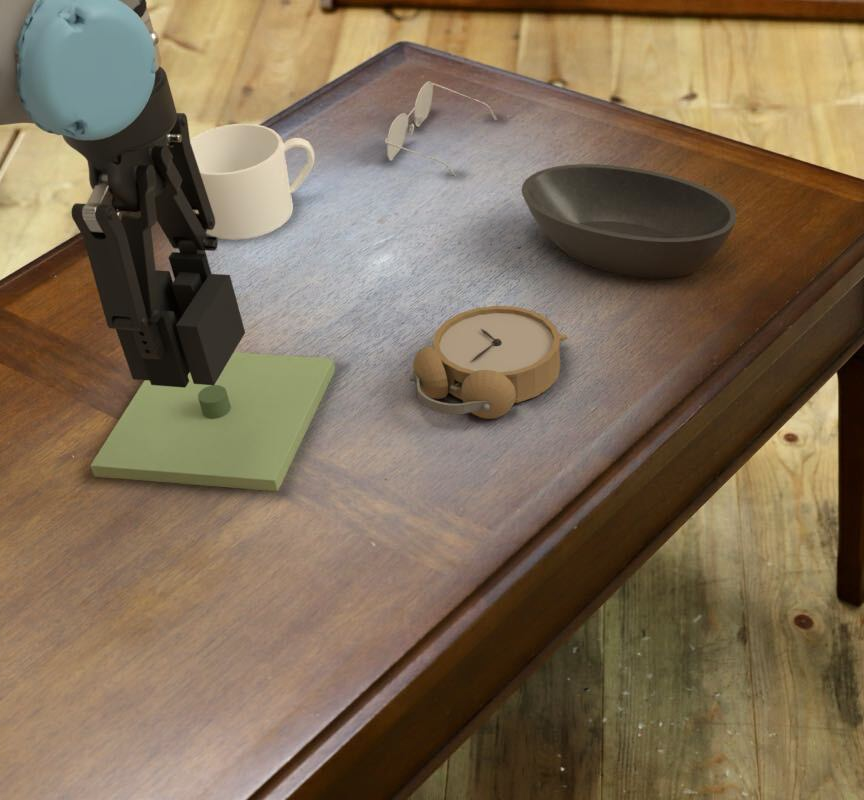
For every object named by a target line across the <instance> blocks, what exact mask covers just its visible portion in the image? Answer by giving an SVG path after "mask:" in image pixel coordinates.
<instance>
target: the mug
mask: <svg viewBox="0 0 864 800" xmlns="http://www.w3.org/2000/svg"><path fill="white" fill-rule="evenodd" d="M190 143H191V146H192V149H193V152H194V155H195V159H196V162H197V165H198V168H199V171H200V174H201V177H202V180H203V183H204V186H205V189H206V193H207V196H208V199H209V202H210V205H211V208H212V211H213V214H214V217H215V226H214V229H213V230H207V231H206V235H208V236H214V237H217V239H221V240H230V241H238V240H248V239H254V238H257V237H261V236H264V235H266V234H269V233H272V232H273V231H275V230H277V229H279V228H280V227H282V226H283V225H284V224H285V223H287V222H288V221H289V219H290V218H291V216H292V214H293V212H294V211H293V210H294V203H293V199H292V198H293V197H292V194H293V193H295V192H297V190H298V189H299V188H300V187H301V185H302V183H303V182H304V181H305V180H306V178H307V177H308V176H309V174H310V173H311V171H312V170H313V168H314V165H315V160H316V159H315V158H316V156H315V151H314V148H313V146H312V144H311V143H310V142H309V141H308V140H307V139H305V138H302V137H292V138H290V139H287V140H285V142H284V141H283V139H282V136H281V135H280V134H279V133H277V131H275V130H274V129H272V128H270V127H268V126H266V125H261V124H256V123H232V124H225V125H220V126H215V127H213V128H210V129H207V130H203V131H202V132H200V133H198V134H196V135H194V136H193V137H191V138H190ZM293 148H302V149H304V151H305V153H306V158H307V159H306V163H305V165H304V166H303V168H302V169H301V170H300V172H298V174H297V176H296V177H295V178H294V179H293V181H292V182H291V183H290V178H289V173H288V166H287V158H286V152H287V151H289V150H291V149H293ZM194 213H199V212H198V210H194Z"/></svg>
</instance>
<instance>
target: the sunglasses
mask: <svg viewBox="0 0 864 800" xmlns="http://www.w3.org/2000/svg"><path fill="white" fill-rule="evenodd" d="M434 86H435V87H438V88H440V89H443V90H446V91H447V92H452V93H454V94H457V95H460V96H462V97H464V98H465V97H466V98H468V99H470V100H473V101H475V102H477V103H479V104H482V105H484V106H485V107H487V108H488V110H489V112H490V114H491V116H492V118H493V120H494V121H497V120H498V119H497V117H496V114H494V112H493V110H492V109H491V107H490V106H489V105H488V104H487V103H485V102H483V101H482V100H478V99H476V98H472V97H470V96H468V95H465V94H462V93H460V92H457V91H455V90H452V89H450V88H448V87H445V86H443V85H440V84H437V83H434V82H432V81H426V82H425V83H424V84H423V85H422V86H421V88H420V90H419V91H418V94H417V96H416V99H415V103H414V107H413V109H412V110H411V111H410V112H408V114H407V113H404V112H402V113H400V114H399V115H397V116H396V117H395V118H394V120H393V121H392V122H391V124H390V126H389V130H388V133H387V137H386V138H385V140H384V143H385V144H386V154H387V155H386V156H387V159H388V160H389V161H390V162H392V161H393V160H394V158H395V157H396V155H398V153H399V152H400V151H401V150H404V151H407V152H410V153H413V154H417V155H420V156H422V157H425V158H429V159H430V160H433V161H436V162H439V163H441V164H443V165H444V166H446V167H447V169H448V170H449V171H450V173H451V174H452V176H455V177H456V176H457V175H456V174H455V172H454V171H453V169H452V168H451V167H450V166H449V165H448V163H446V162H445V161H443V160H440V159H438V158H436V157H432V156H428V155H425V154H422V153H420V152H417V151H414V150H412V149H408V148H406V147H403V144H404V141H405V138H406V135H407V132H409V133H408V136H409V137H412V136H413V134H414V130H415V127H418V128H419V127H420V126H421V124H423V122H424V121H425V120H427V118H428V116H429V113H430V110H431V106H432V101H433V96H434V95H433V93H434ZM412 113H413V121H414V122H413V123H411V124H409V117H410V115H411V114H412Z"/></svg>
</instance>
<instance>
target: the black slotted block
mask: <svg viewBox="0 0 864 800" xmlns="http://www.w3.org/2000/svg"><path fill="white" fill-rule="evenodd" d="M156 278H157V288H158V297H159V306H160V311H168V313H169V316H170V320H171V323H172V326H173V329H174V333H175V336H176V339H177V343H178V346H179V349H180V352H181V356H182V359H183V362H184V365H185V369H186V372H187V375H188V374H189V373H191V377H192V380H193V383H194V384H202V385H215V383H216V381H217V380H218V378H219V376H220V375H221V373H222V371H223V369H224V368H225V366H226V364H227V363H228V361H229V359H230V358H231V356H232V354H233V353H234V352H236V349H237V348H238V346H239V344H240V342H241V341H242V339H243V337H244V335H245V334H246V330H245V326H244V323H243V319H242V315H241V312H240V311H241V310H240V306H239V304H238V301H237V297H236V293H235V289H234V286H233V282H232V278H231V274H222V273H221V274H219V273H211V274H209V276H208V277H207V279H206V280H205V282H204V283H203V285H202V281H201V278H200V274H199V273H189V272H179V274H178V275H177V277H176V278H174V279H173V278H172V275H171V272H170V271H169V270H157V269H156ZM115 331H116V334H117V337H118V340H119V342H120V343H119V344H120V346H121V349H122V351H123V355H124V357H125V360H126V364H127V366H128V369H129V372H130V374H131V378H132V380H137V381H144V380H148V381H150V380H149V377H148V374H147V371H146V368H145V365H144V361H143V358H142V357H141V355H140V354H139V351H138V348H137V345H136V344H137V343H136V342H135V339H134V336H133V333H132V330H124V329H115Z"/></svg>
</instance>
